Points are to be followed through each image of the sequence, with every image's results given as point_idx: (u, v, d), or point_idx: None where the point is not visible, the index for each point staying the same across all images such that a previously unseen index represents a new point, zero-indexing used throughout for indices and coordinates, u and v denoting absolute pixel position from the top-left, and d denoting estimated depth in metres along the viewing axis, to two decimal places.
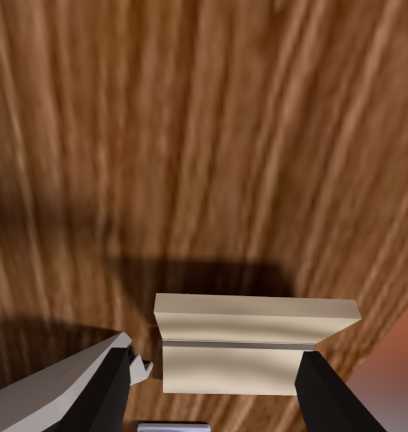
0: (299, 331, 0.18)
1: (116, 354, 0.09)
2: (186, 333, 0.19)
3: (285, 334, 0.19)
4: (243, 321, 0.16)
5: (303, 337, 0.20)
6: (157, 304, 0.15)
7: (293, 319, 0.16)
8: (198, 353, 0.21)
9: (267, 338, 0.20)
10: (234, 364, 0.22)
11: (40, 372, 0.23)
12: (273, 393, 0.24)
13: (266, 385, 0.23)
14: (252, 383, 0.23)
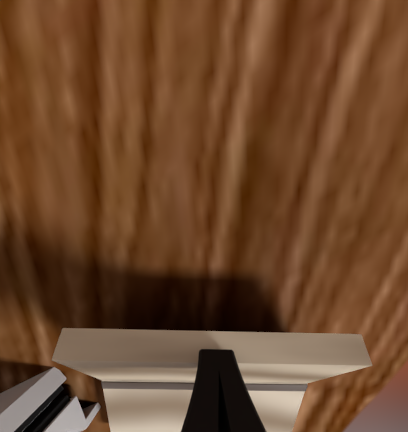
0: (282, 374, 0.13)
1: (210, 356, 0.09)
2: (126, 376, 0.14)
3: (263, 377, 0.13)
4: (196, 367, 0.11)
5: (289, 379, 0.14)
6: (60, 346, 0.10)
7: (269, 365, 0.10)
8: (152, 396, 0.16)
9: None
10: None
11: None
12: None
13: None
14: None
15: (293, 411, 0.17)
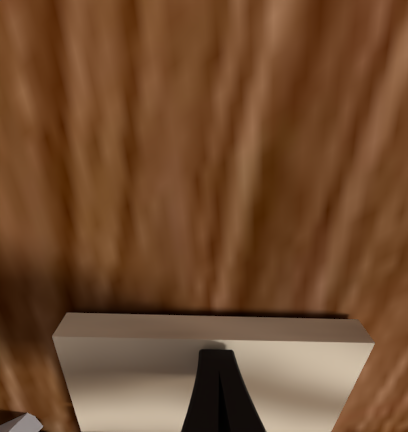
0: (292, 391, 0.11)
1: (210, 356, 0.09)
2: (115, 408, 0.12)
3: (273, 403, 0.12)
4: (196, 359, 0.10)
5: (304, 413, 0.12)
6: (62, 326, 0.10)
7: (272, 349, 0.10)
8: None
9: None
10: None
11: None
12: None
13: None
14: None
15: None
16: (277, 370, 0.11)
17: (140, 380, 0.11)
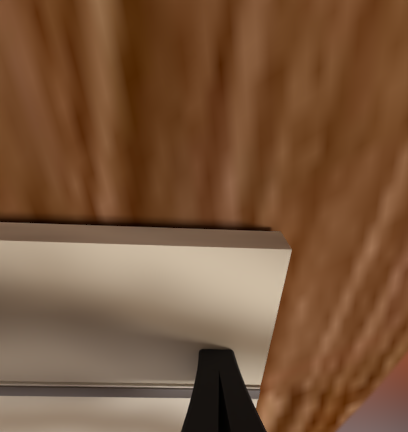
0: (201, 324, 0.09)
1: (210, 355, 0.09)
2: None
3: (181, 341, 0.10)
4: (68, 273, 0.08)
5: None
6: None
7: (161, 258, 0.08)
8: (38, 406, 0.11)
9: (156, 364, 0.10)
10: (114, 424, 0.12)
11: None
12: None
13: None
14: None
15: None
16: (175, 291, 0.09)
17: (5, 305, 0.09)
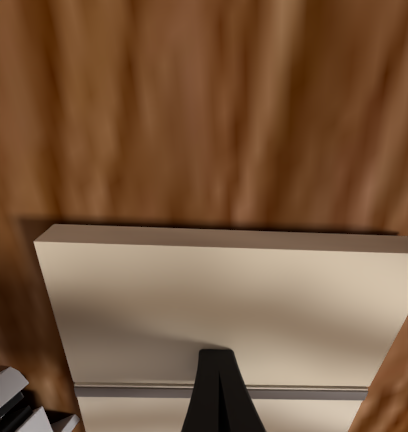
0: (329, 327, 0.09)
1: (210, 355, 0.09)
2: (114, 349, 0.10)
3: (305, 343, 0.10)
4: (215, 278, 0.08)
5: (341, 357, 0.10)
6: (47, 234, 0.08)
7: (310, 263, 0.08)
8: (147, 407, 0.11)
9: (274, 366, 0.10)
10: None
11: None
12: None
13: None
14: None
15: (342, 427, 0.12)
16: (314, 295, 0.09)
17: (145, 309, 0.09)
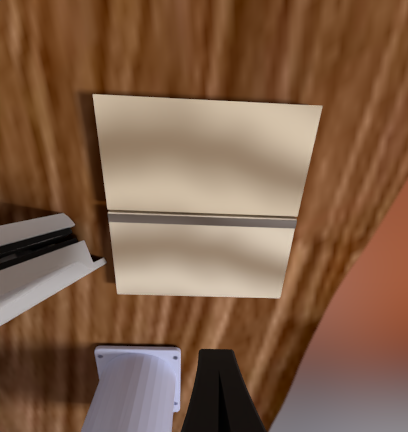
0: (266, 162, 0.16)
1: (210, 356, 0.09)
2: (134, 180, 0.16)
3: (252, 176, 0.16)
4: (195, 122, 0.14)
5: (276, 189, 0.16)
6: None
7: (249, 111, 0.14)
8: (154, 233, 0.17)
9: (234, 197, 0.16)
10: (199, 251, 0.18)
11: None
12: (250, 295, 0.20)
13: (240, 283, 0.19)
14: (223, 279, 0.19)
15: (284, 255, 0.18)
16: (253, 136, 0.15)
17: (153, 146, 0.15)
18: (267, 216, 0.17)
